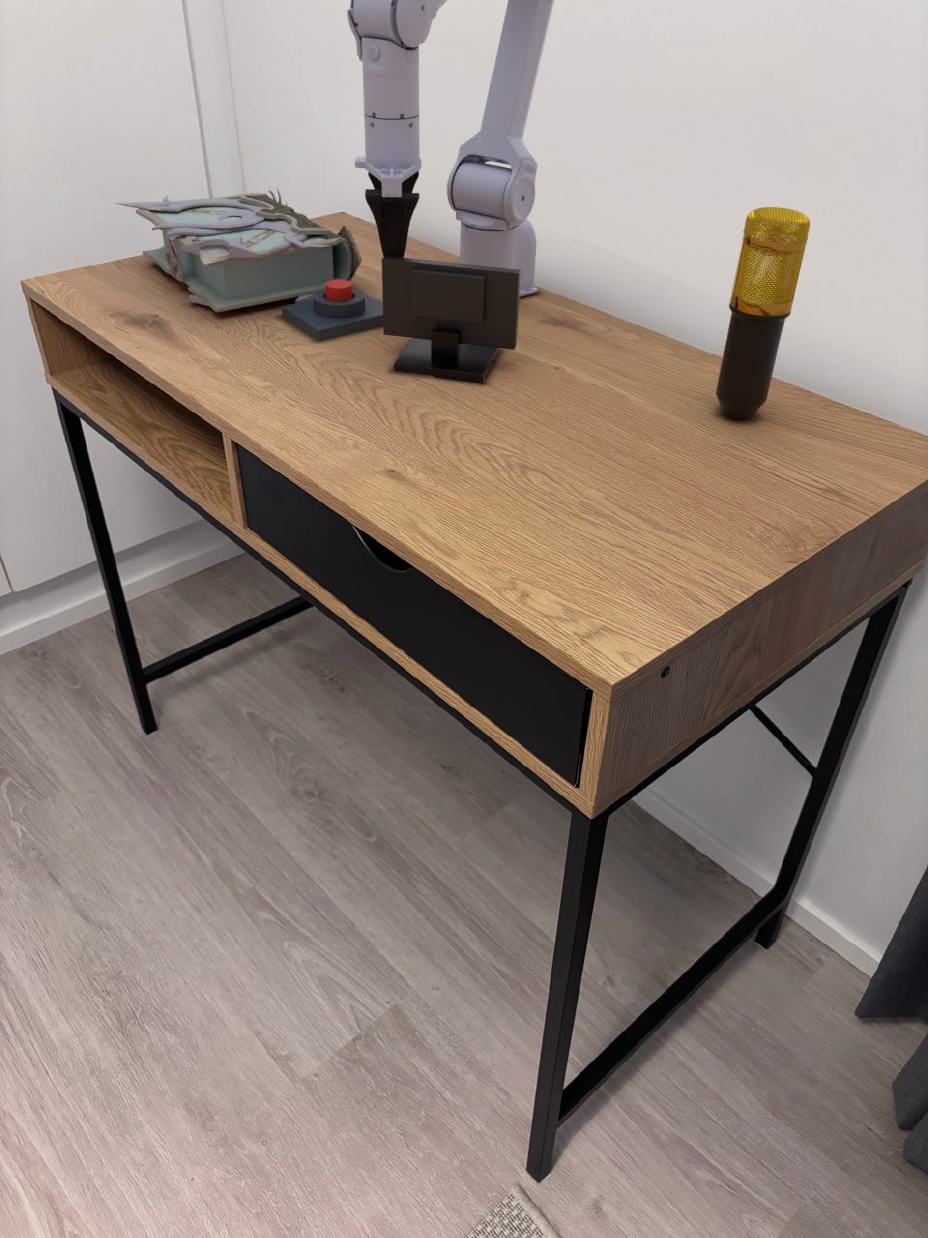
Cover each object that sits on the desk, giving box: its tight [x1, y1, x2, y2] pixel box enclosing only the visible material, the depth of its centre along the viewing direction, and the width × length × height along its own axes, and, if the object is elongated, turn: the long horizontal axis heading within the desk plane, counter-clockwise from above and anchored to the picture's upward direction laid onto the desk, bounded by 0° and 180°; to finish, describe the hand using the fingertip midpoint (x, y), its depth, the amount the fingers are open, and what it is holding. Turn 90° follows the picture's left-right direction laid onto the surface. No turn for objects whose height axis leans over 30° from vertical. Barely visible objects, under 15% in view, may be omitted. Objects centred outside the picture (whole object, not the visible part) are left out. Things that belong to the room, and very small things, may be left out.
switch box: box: [281, 287, 383, 342], centre depth 120 cm, size 11×9×3 cm
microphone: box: [715, 206, 811, 421], centre depth 100 cm, size 6×13×20 cm, turn 34°
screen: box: [381, 256, 521, 351], centre depth 108 cm, size 2×15×8 cm, turn 77°
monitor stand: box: [393, 327, 501, 384], centre depth 111 cm, size 9×10×4 cm
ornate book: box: [114, 188, 363, 313], centre depth 130 cm, size 23×10×30 cm
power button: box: [325, 279, 353, 301], centre depth 119 cm, size 3×3×2 cm
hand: (394, 247), depth 111 cm, fingers open, 7 cm apart
